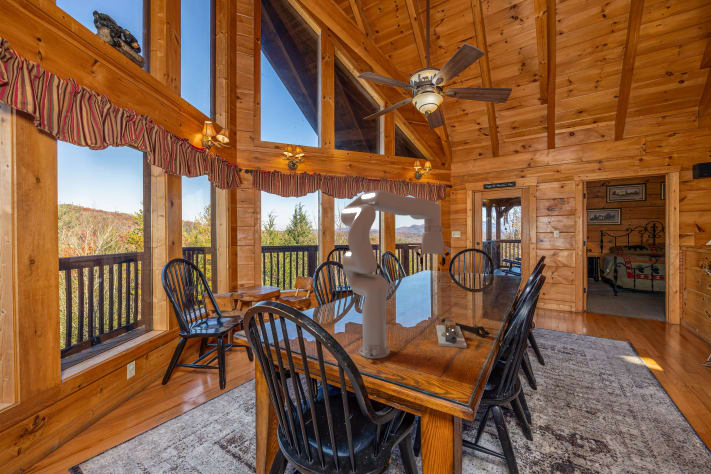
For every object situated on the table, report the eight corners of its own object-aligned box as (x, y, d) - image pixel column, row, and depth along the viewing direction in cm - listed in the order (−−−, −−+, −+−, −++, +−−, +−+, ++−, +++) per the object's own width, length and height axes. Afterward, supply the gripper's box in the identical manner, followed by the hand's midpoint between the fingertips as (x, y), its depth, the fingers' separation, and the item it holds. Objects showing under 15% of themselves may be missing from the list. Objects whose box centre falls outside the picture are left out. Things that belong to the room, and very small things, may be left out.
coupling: (456, 337, 129) (456, 325, 128) (445, 337, 130) (445, 325, 129) (454, 332, 135) (454, 321, 135) (444, 332, 136) (444, 320, 136)
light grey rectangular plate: (466, 347, 120) (466, 342, 120) (439, 345, 123) (439, 340, 123) (459, 328, 144) (459, 324, 144) (436, 327, 146) (436, 322, 146)
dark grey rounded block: (450, 338, 128) (450, 328, 128) (458, 340, 125) (458, 330, 125) (444, 342, 123) (444, 331, 123) (452, 344, 121) (452, 333, 121)
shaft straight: (453, 331, 137) (453, 321, 137) (445, 330, 138) (445, 321, 138) (451, 326, 144) (451, 317, 144) (443, 325, 145) (443, 316, 145)
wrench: (448, 323, 158) (495, 338, 131) (441, 325, 156) (487, 340, 129) (447, 314, 158) (493, 326, 131) (440, 316, 156) (485, 328, 129)
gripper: (450, 229, 140) (450, 265, 140) (414, 230, 144) (414, 264, 144) (452, 229, 132) (452, 267, 133) (413, 230, 136) (413, 266, 137)
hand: (432, 265), depth 138 cm, fingers open, 9 cm apart
